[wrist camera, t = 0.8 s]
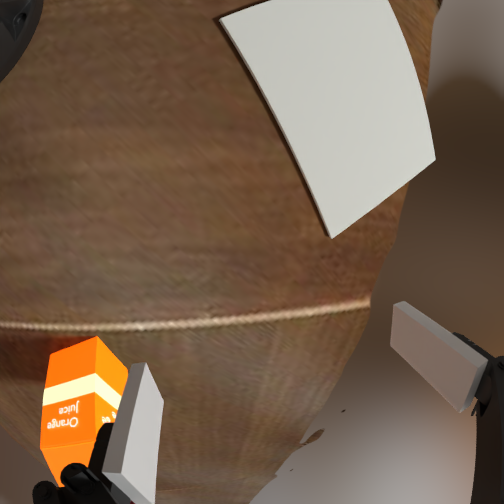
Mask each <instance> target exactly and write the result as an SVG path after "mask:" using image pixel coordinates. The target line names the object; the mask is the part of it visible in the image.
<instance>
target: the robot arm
mask: <svg viewBox="0 0 504 504" xmlns="http://www.w3.org/2000/svg"><path fill="white" fill-rule="evenodd" d="M42 7H43V0H0V82H1V81H2V80H3V79H4V78H5V77H6V76H7V74H8V73H9V72H10V71H11V70H12V68H13V67H14V66H15V64H16V63H17V62H18V60H19V59H20V57H21V56H22V54H23V52H24V51H25V49H26V48H27V46H28V44H29V42H30V40H31V38H32V36H33V34H34V32H35V30H36V27H37V25H38V22H39V19H40V16H41V12H42ZM390 346H391V347H392V348H393V349H395V350H396V351H397V352H398V353H399V354H400V355H401V356H402V357H403V358H404V359H405V360H406V361H407V362H408V363H409V364H410V365H411V366H412V367H413V368H414V369H415V370H416V371H417V372H419V374H420V375H421V376H422V377H424V378H425V379H426V380H427V381H428V382H429V383H430V384H431V385H432V386H433V387H434V388H435V389H436V390H437V391H438V392H439V393H440V394H441V395H442V396H443V397H444V398H445V399H446V400H447V401H448V402H449V403H450V404H451V405H452V406H453V407H454V408H455V409H456V410H457V411H458V412H459V413H460V412H462V411H463V410H465V409H466V408H467V407H469V406H470V405H471V402H472V400H473V398H474V396H475V397H476V398H477V399H478V400H477V403H476V405H475V407H474V409H473V411H472V414H471V416H473V415H474V413H475V411H476V417H477V439H476V440H477V441H476V461H475V473H474V482H473V490H472V496H471V503H470V504H504V356H499V357H497V358H494V357H493V356H491V355H490V354H489V353H488V352H486V351H485V350H483V349H482V348H481V347H479V346H478V345H475V343H474V342H472V341H470V340H469V339H468V338H466V337H465V336H464V335H461V334H458V333H455V332H454V333H450V332H449V331H447V330H446V329H445V328H443V327H442V326H440V325H439V324H437V323H436V322H434V321H433V320H432V319H430V318H429V317H427V316H426V315H424V314H423V313H421V312H420V311H418V310H417V309H415V308H414V307H413V306H411V305H410V304H408V303H407V302H405V301H402V302H399V303H397V304H394V305H393V320H392V331H391V341H390ZM163 403H164V401H163V399H162V397H161V395H160V393H159V391H158V388H157V386H156V384H155V382H154V380H153V377H152V375H151V373H150V371H149V368H148V366H147V364H146V362H145V363H136V364H132V366H131V369H130V372H129V375H128V378H127V381H126V384H125V387H124V391H123V394H122V397H121V401H120V404H119V407H118V411H117V414H116V418H115V421H114V422H105V423H104V424H103V425H102V426H101V428H100V429H99V430H98V433H97V436H96V441H95V443H94V446H93V447H94V448H93V450H92V453H91V457H90V460H89V464H88V468H87V467H86V466H85V465H84V464H82V463H71V464H68V465H67V466H65V467H64V468H63V470H62V471H61V474H60V480H61V483H62V484H63V485H64V487H56V486H55V485H54V484H53V483H52V482H49V481H41V482H39V483H38V484H37V485H35V487H34V489H33V494H32V495H33V503H34V504H130V499H131V500H132V501H133V502H134V503H135V504H155V486H156V472H157V459H158V448H159V438H160V428H161V419H162V411H163Z"/></svg>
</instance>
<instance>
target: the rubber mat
mask: <svg viewBox="0 0 504 504" xmlns="http://www.w3.org/2000/svg"><path fill="white" fill-rule="evenodd" d="M219 22H220V23H221V25H222V26H223V28H224V29H225V31H226V33H227V34H228V36H229V37H230V39H231V41H232V42H233V44H234V46H235V47H236V49H237V51H238V52H239V54H240V56H241V57H242V59H243V61H244V62H245V64H246V66H247V68H248V69H249V71H250V73H251V75H252V76H253V78H254V80H255V82H256V83H257V85H258V87H259V89H260V91H261V93H262V94H263V96H264V98H265V100H266V102H267V104H268V106H269V107H270V109H271V111H272V113H273V115H274V117H275V119H276V121H277V123H278V125H279V127H280V129H281V131H282V133H283V135H284V137H285V139H286V141H287V143H288V145H289V147H290V149H291V151H292V153H293V155H294V157H295V160H296V162H297V164H298V166H299V168H300V170H301V172H302V175H303V177H304V179H305V181H306V183H307V186H308V188H309V190H310V192H311V195H312V197H313V199H314V201H315V204H316V206H317V208H318V211H319V213H320V215H321V218H322V220H323V223H324V225H325V227H326V230H327V232H328V235H329V237H330V238H331V239H332V238H334V237H335V236H336V235H338V234H339V233H340V232H342V231H343V230H345V229H346V228H347V227H349V226H350V225H351V224H353V223H354V222H355V221H357V220H358V219H359V218H361V217H362V216H363V215H365V214H366V213H367V212H369V211H370V210H371V209H373V208H374V207H375V206H377V205H378V204H379V203H381V202H382V201H383V200H385V199H386V198H387V197H389V196H390V195H391V194H392V193H394V192H395V191H396V190H398V189H399V188H400V187H402V186H403V185H404V184H405V183H407V182H408V181H409V180H411V179H412V178H413V177H414V176H415V175H417V174H418V173H419V172H420V171H422V170H423V169H424V168H426V167H427V166H428V165H429V164H431V163H432V162H433V161H434V160H435V154H434V148H433V141H432V136H431V131H430V126H429V121H428V116H427V112H426V107H425V103H424V99H423V95H422V92H421V88H420V84H419V81H418V77H417V74H416V71H415V68H414V65H413V61H412V58H411V56H410V53H409V50H408V47H407V44H406V42H405V39H404V36H403V34H402V31H401V29H400V26H399V24H398V22H397V19H396V17H395V15H394V13H393V10H392V8H391V6H390V4H389V2H388V0H271V1H267V2H264V3H261V4H258V5H255V6H252V7H249V8H246V9H244V10H241V11H238V12H236V13H233V14H231V15H228V16H226V17H223V18H221V19H220V20H219Z"/></svg>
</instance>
